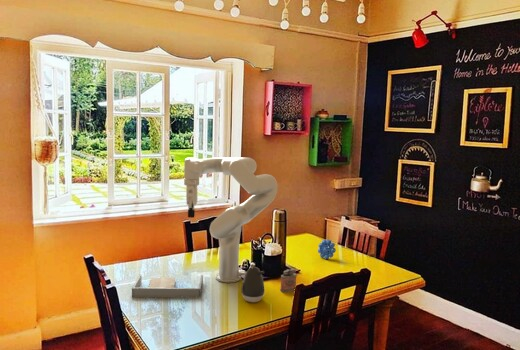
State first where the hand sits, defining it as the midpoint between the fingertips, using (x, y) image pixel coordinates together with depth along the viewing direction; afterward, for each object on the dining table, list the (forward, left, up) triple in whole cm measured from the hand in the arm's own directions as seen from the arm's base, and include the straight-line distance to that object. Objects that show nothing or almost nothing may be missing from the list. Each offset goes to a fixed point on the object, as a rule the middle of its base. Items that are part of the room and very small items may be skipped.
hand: (191, 217), depth 225 cm
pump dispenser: (-31, +39, -27) cm, 57 cm away
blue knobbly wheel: (-76, -17, -27) cm, 83 cm away
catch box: (+7, +29, -27) cm, 40 cm away
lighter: (-48, +28, -27) cm, 62 cm away
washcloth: (+11, +27, -28) cm, 40 cm away
